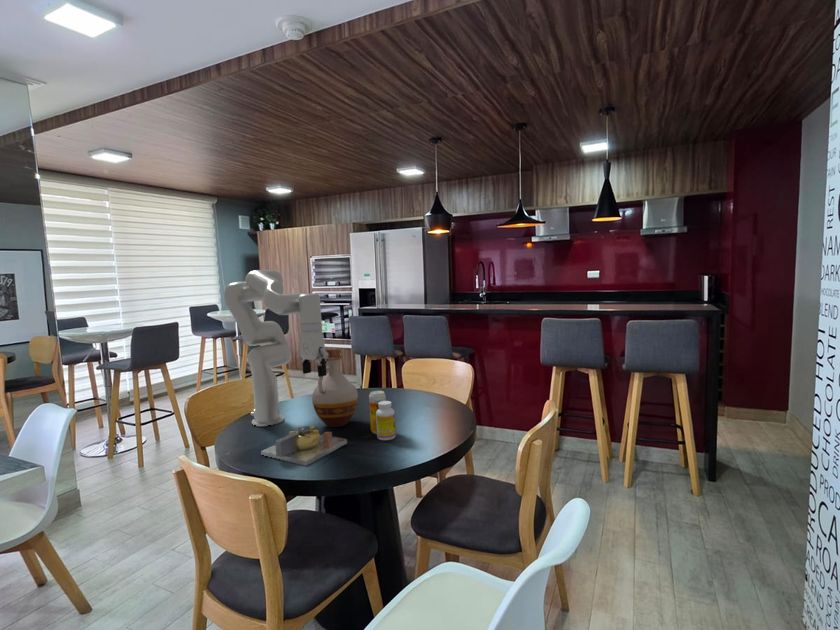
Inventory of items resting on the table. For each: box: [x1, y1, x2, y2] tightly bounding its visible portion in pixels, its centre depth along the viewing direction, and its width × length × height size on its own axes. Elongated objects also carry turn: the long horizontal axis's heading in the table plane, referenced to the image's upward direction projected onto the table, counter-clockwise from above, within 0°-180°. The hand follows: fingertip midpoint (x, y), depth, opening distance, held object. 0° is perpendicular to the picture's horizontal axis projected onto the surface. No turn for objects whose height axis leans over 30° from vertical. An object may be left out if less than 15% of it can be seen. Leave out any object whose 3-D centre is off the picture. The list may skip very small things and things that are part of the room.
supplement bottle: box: [376, 400, 397, 441], centre depth 157 cm, size 7×7×13 cm
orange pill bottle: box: [368, 390, 387, 435], centre depth 163 cm, size 6×6×15 cm
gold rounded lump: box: [274, 425, 320, 457], centre depth 147 cm, size 16×10×6 cm, turn 151°
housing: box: [260, 431, 348, 467], centre depth 150 cm, size 20×20×6 cm
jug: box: [311, 348, 359, 428], centre depth 173 cm, size 20×18×30 cm
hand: (314, 374), depth 160 cm, fingers open, 9 cm apart
